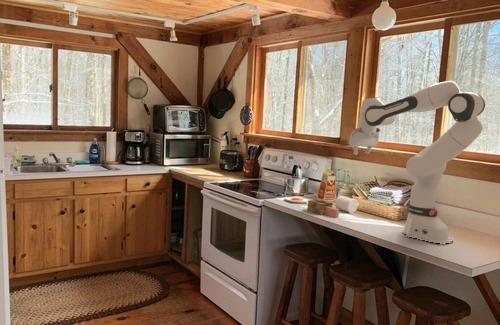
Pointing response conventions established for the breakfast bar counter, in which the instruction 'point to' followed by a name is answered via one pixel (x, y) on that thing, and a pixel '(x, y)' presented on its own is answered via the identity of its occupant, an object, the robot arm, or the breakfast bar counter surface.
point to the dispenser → (318, 206)
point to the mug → (346, 204)
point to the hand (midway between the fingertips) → (361, 154)
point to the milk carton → (327, 186)
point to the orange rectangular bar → (331, 212)
